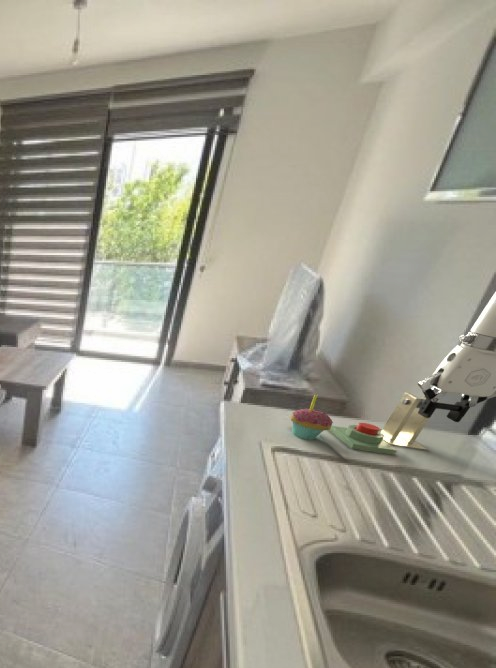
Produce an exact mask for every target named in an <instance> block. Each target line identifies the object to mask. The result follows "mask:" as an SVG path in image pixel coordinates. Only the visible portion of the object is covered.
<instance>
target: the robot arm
mask: <svg viewBox="0 0 496 668" xmlns="http://www.w3.org/2000/svg"><path fill="white" fill-rule="evenodd" d="M458 341H459V342H461V343H460V344H457V345H456V346H455V347H454V348H453V349H451V350H450V352H449V353H448V354H447V355H446V356H445V357H444V358H443V360H442V361H441V362H440V364H439V365H438V366H437V367H436V369H435V370H434V372H433V373H432V374H431V375H430V376H428V377H426V378H424V379H422V380H421V381H419V382H418V383H417V386H418V387H419V388H420V389H421V391H422V393H423V396H424V397H425V398H426V399H425V401H424V403H423V404H422V406H421V407H420V409H419V411H418V414H420V415H422V416H423V417H425V418H429V419H431V417H432V416H433V414H434V412H435V411H436V410H437V409H436V408H437V407H438V405H439V403H438V402H437V401H440V400H441V399H442V398H443V397H445V395H446V394H448V393H449V394H457V395H461V398H460V401H456V402H455V403H453V404H454V405H460V406H461V410H460V411H451V410H449V412H447V414H446V417H447V418H448V419H449V420H451V421H453V422H455V423H460V422H461V421H462V419H463V418H464V417H465V415H466V414H467V413H468V411H469V410H470V408H473V407H476V406H477V404H481V403H483V402H485V401H486V400H489V399H493V398H495V397H496V291H494V293H493V294H492V296H491V298H490V299H489V301H488V302H487V304H486V305H485V307H484V308H483V310H482V312H481V313H480V314H479V316H478V318H477V319H476V321H475V322H474V324H473V326H472V327H471V328H470V330H469V331H468V332H467V334H462V335H460V336H459V338H458ZM431 386H432V388H431Z"/></svg>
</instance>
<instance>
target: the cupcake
mask: <svg viewBox="0 0 496 668" xmlns="http://www.w3.org/2000/svg"><path fill="white" fill-rule="evenodd" d="M317 399H318V392H317V391H315V394H314V395H313V397H312V400H311V404H310V407H309V408H300V409H297V410H295V411H292V414H290V417H289V418H290V421H291V422H292V429H291V431H292V432H291V433H292V435H294V437H295V436H296V437H298V438H301V439H304V440H315V439H316V438H317V437H318V436H319V435H321V434H322V432H324V431H330V428H331V426H333V423H334V422H333V419H332V418H331V417H330V416H329V415H328V414H327V413H326V412H325V411H322V410H321V411H320V410H319V409H314V407H315V405H316V402H317Z"/></svg>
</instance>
